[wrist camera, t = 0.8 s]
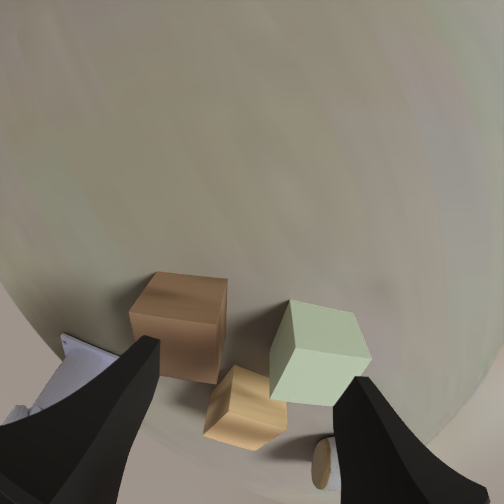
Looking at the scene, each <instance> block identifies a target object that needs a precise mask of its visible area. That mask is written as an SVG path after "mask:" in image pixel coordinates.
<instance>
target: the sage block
mask: <svg viewBox="0 0 504 504" xmlns="http://www.w3.org/2000/svg"><path fill="white" fill-rule="evenodd" d="M269 356H270V368H269V399H273V400H279V401H287V402H295V403H303V404H313V405H324V406H334V405H335V403H336V402H337V401H338V399H339V398H340V397H341V395H342V394H343V392H344V391H345V390H346V388H347V387H348V385H349V384H350V383H351V381H352V380H353V378H354V377H355V376H361V374H362V373H363V371H364V370H365V369H366V367H367V366H368V364H369V363H370V361H371V360H372V357H371V355H370V352H369V350H368V347H367V345H366V342H365V340H364V337H363V335H362V332H361V330H360V328H359V325H358V323H357V320H356V318H355V316H354V313H351V312H346V311H341V310H336V309H332V308H327V307H322V306H318V305H313V304H309V303H304V302H300V301H295V300H291V299H290V300H289V303H288V306H287V308H286V311H285V313H284V316H283V318H282V321H281V323H280V326H279V328H278V331H277V333H276V336H275V338H274V341H273V343H272V345H271V348H270V350H269Z"/></svg>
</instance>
